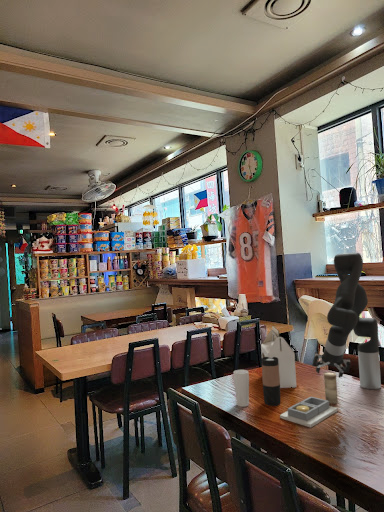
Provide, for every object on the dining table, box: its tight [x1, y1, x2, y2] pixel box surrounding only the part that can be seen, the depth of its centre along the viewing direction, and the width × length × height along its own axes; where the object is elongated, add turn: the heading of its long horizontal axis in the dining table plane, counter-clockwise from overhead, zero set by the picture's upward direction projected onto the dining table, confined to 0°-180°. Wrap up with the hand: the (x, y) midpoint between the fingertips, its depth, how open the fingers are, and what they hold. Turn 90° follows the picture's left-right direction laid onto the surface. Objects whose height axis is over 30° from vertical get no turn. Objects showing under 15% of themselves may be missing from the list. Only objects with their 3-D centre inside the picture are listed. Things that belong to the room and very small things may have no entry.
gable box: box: [260, 325, 297, 389], centre depth 204 cm, size 22×13×28 cm, turn 179°
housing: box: [279, 396, 339, 428], centre depth 160 cm, size 21×14×4 cm, turn 132°
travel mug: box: [261, 357, 282, 407], centre depth 174 cm, size 8×8×20 cm
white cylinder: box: [233, 369, 250, 408], centre depth 174 cm, size 7×7×15 cm
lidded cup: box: [323, 372, 339, 405], centre depth 172 cm, size 5×5×12 cm
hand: (328, 373), depth 164 cm, fingers open, 8 cm apart
